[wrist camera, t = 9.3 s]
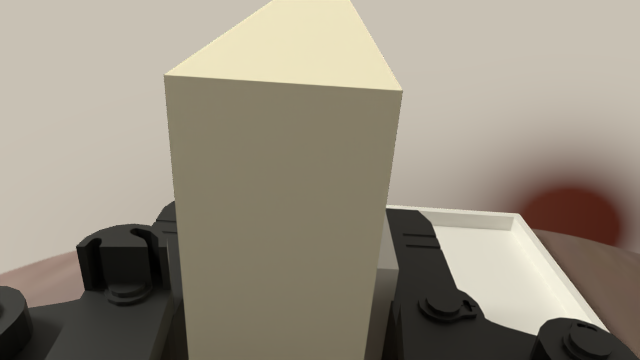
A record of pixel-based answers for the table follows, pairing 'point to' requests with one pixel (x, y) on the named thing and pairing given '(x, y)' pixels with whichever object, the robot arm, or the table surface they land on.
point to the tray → (505, 269)
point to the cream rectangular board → (282, 183)
